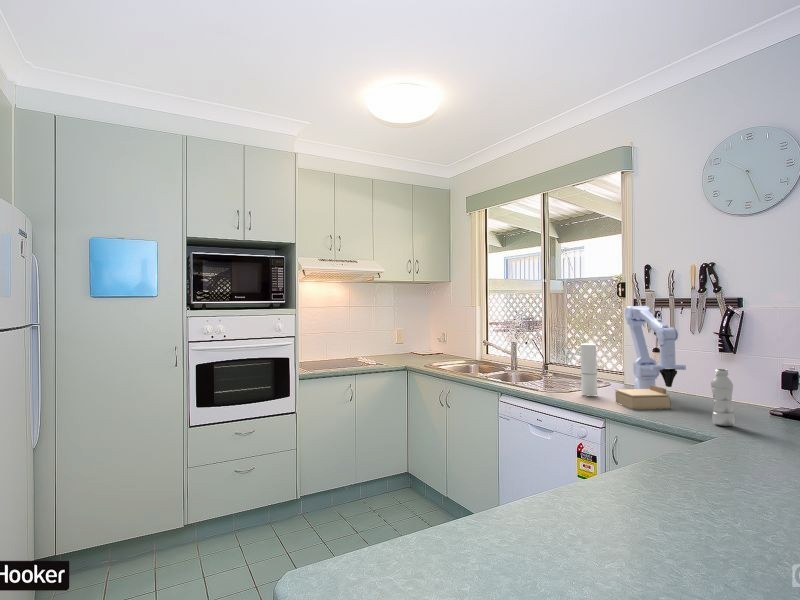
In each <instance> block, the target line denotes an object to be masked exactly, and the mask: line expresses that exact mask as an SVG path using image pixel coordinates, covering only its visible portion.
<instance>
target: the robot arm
mask: <svg viewBox="0 0 800 600" xmlns="http://www.w3.org/2000/svg"><path fill="white" fill-rule="evenodd" d="M624 317H625V321H626V324H627V325H628V326H629V329H630V335H631V337H632V342H633V346H634V350H635V354H636V357H637V358H636V359H635V361H634V362H633V363H632V365H633V368H632V369H633V370H632V372H633V375H634V376H635V380H634V389H650V385H654V386H656V380H658V377H659V375H661V376H662V378H663V381H664V383H665V386H666V387H668V388H672V385H673V383H674V379H675V377H676V376H677V375H678V370H679V371H680V370H681V371H682V370H683V371H686V369H687V365H685V364H676V341H677V339H678V337H679V333H678V330H677V329H676V327H671V326H668V325H667V324H666V323H665V322H664V321H663V319H661V318H656V317H655V316H654V315H653V313H651V308H650V307H649V306H648V305H635V306H633V305H632V306H631V305H628V306H627V307H626V308H625V310H624ZM646 323H648V325H649V326H648V327H649V328H650V330H652V331H653V332H654V333H655V335H656V338H657V340H658V341H657V343H658V345H659V360H660V361H659V362H660V364H657V362H656V360H655V359H653V358H651V357H650V353H649V350H648V345H647V342H646V339H645V334H644V330H643V325H645V324H646Z"/></svg>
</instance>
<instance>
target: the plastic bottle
mask: <svg viewBox="0 0 800 600" xmlns="http://www.w3.org/2000/svg"><path fill="white" fill-rule="evenodd" d="M714 375H715V376H714V378H713V379H712V381H710V387H711V392H712V398H713V400H712V401H713V406H712V409H713V410H712V416H711V419H712V422H713V423H714V425H717V426H722V427H730V426H731V427H732V426H734V424H735V419H736V417H735V414H734V409H733V403H732V402H733V391H734V389H733V388H734V384H733V382H732V381H731V379H730V378H729V377H728V375H729V370H728V369H726V368H725V369H724V368H723V369H721V368H717V369H715V372H714Z"/></svg>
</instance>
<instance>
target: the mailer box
mask: <svg viewBox="0 0 800 600" xmlns="http://www.w3.org/2000/svg"><path fill="white" fill-rule="evenodd" d="M670 397H671V396H650V397H631V396H628V395H625V394H623V393H620V392H617V391H615V403H616V402H617V403H616V404H618V403H620V404H622V405H621V406H623V405H624V406H623V407H625V406H626V407H625V408H627V407H628V409H630V408H631V409H630V410H632V409H635V410H657V409H656V408H670V409H671V404H670V403H671V400H670ZM620 404H619V405H620Z"/></svg>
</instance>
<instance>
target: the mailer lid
mask: <svg viewBox="0 0 800 600" xmlns="http://www.w3.org/2000/svg"><path fill="white" fill-rule="evenodd" d="M614 390H615V392H620V393H623V394H625V395H628V396H631V397H650V396H669V397H671V396H670V393H669V394H668V393H667V388H663V387H660V386H656V385H655V386H654V385H650V389H635V388H632V389H631V388H630V389H629V388H627V389H626V388H625V389H624V388H623V389H621V388H620V389H614Z"/></svg>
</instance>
